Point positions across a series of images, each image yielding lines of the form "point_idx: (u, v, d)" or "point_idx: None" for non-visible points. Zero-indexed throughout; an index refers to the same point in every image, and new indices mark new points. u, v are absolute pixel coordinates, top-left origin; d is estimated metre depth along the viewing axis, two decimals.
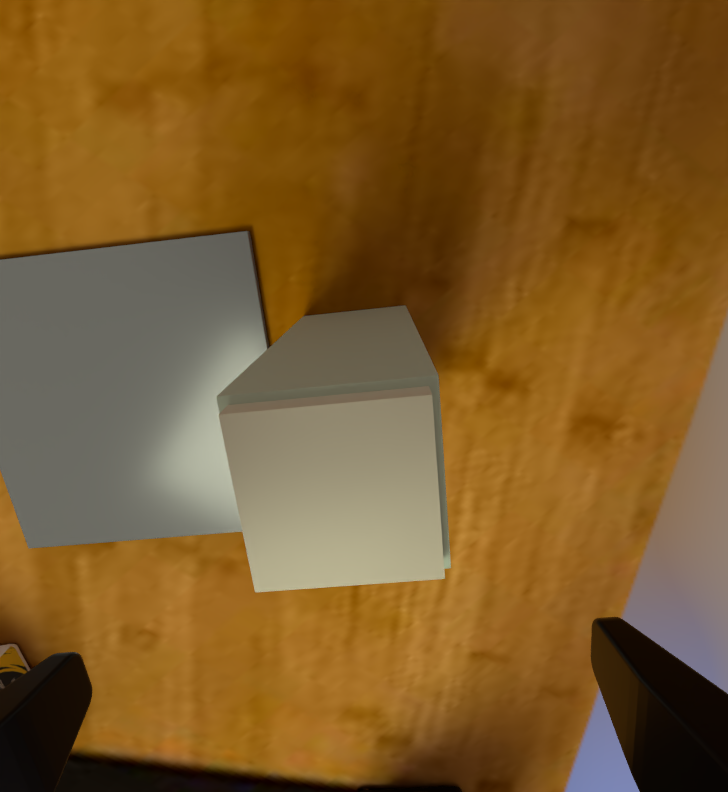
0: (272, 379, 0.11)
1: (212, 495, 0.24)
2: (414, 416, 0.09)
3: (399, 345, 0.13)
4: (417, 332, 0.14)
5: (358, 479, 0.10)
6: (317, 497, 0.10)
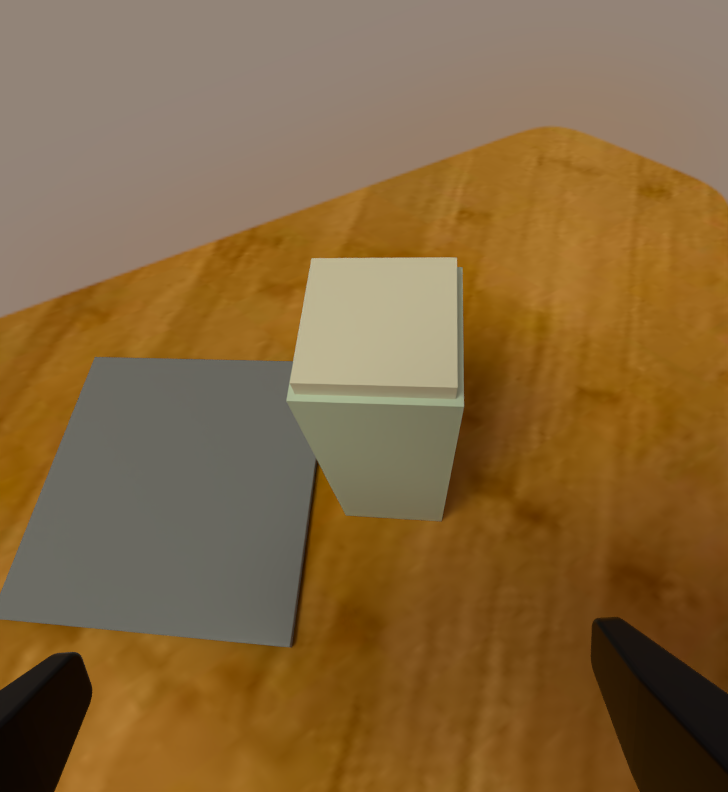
0: None
1: (213, 585, 0.22)
2: (443, 268, 0.13)
3: None
4: None
5: (396, 304, 0.13)
6: (363, 313, 0.13)
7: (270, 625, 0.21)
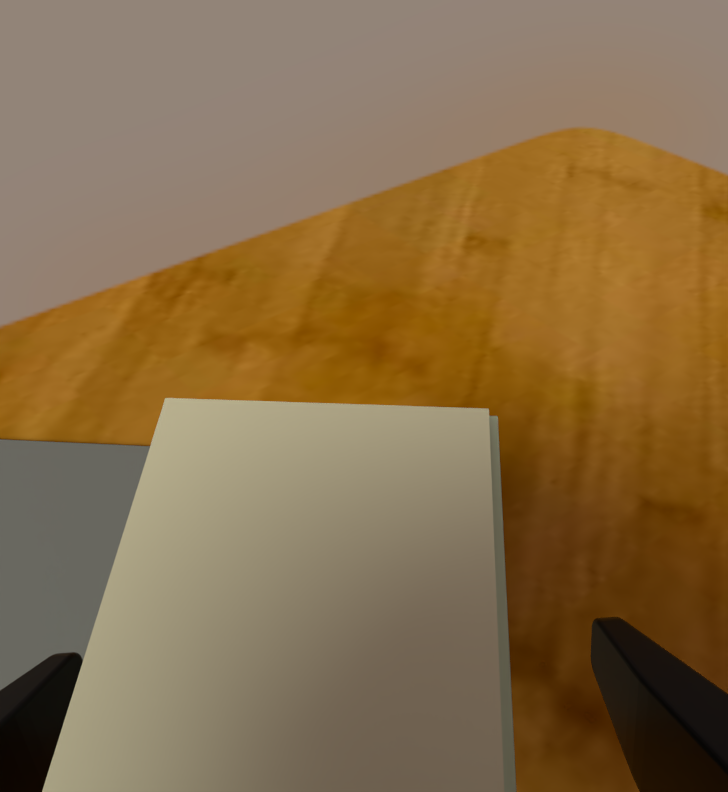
0: None
1: None
2: (458, 438, 0.06)
3: None
4: None
5: (345, 538, 0.05)
6: (261, 563, 0.05)
7: None
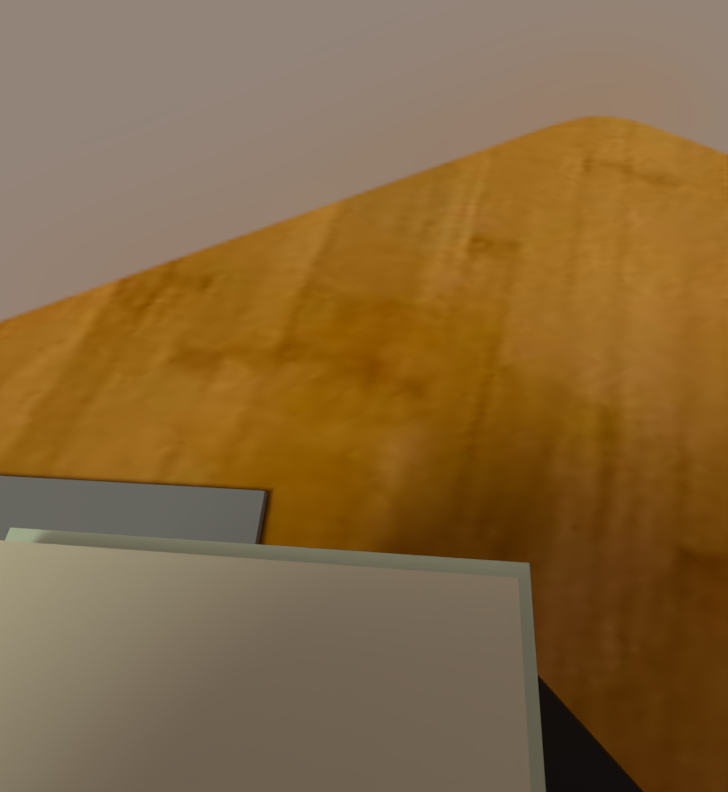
0: None
1: None
2: (462, 641, 0.03)
3: None
4: None
5: None
6: None
7: None
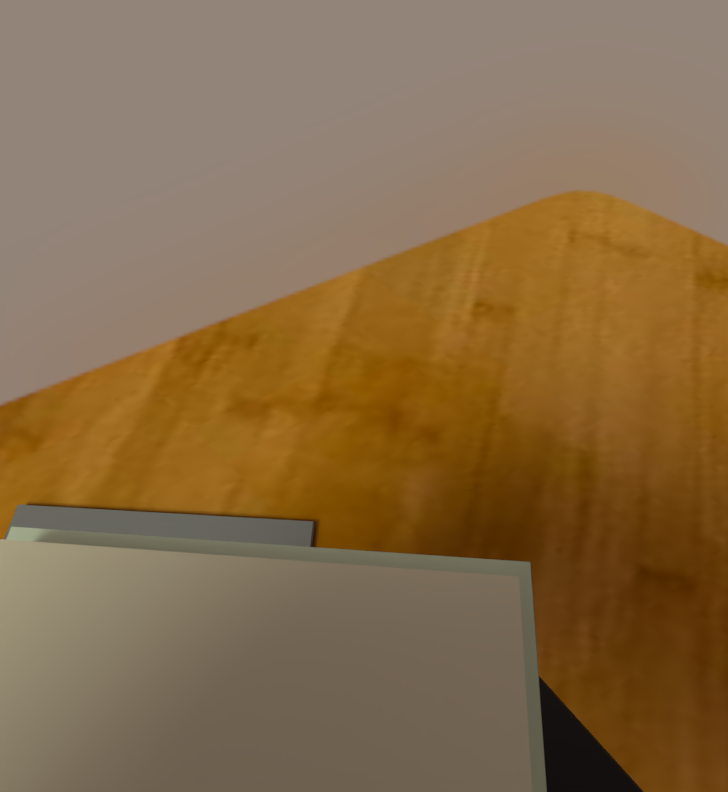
0: None
1: None
2: (463, 640, 0.03)
3: None
4: None
5: None
6: None
7: None
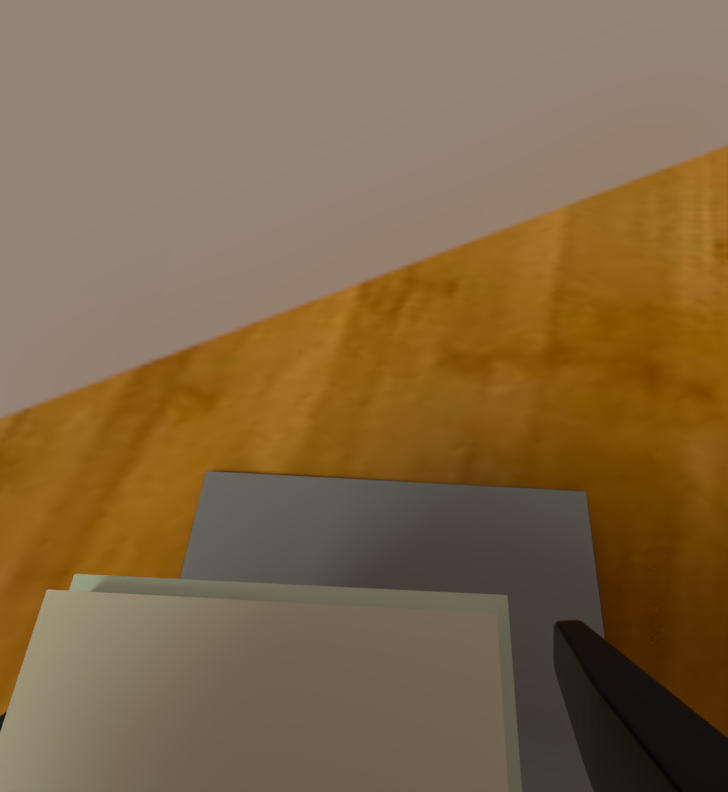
0: None
1: None
2: (454, 665, 0.04)
3: None
4: None
5: None
6: None
7: None
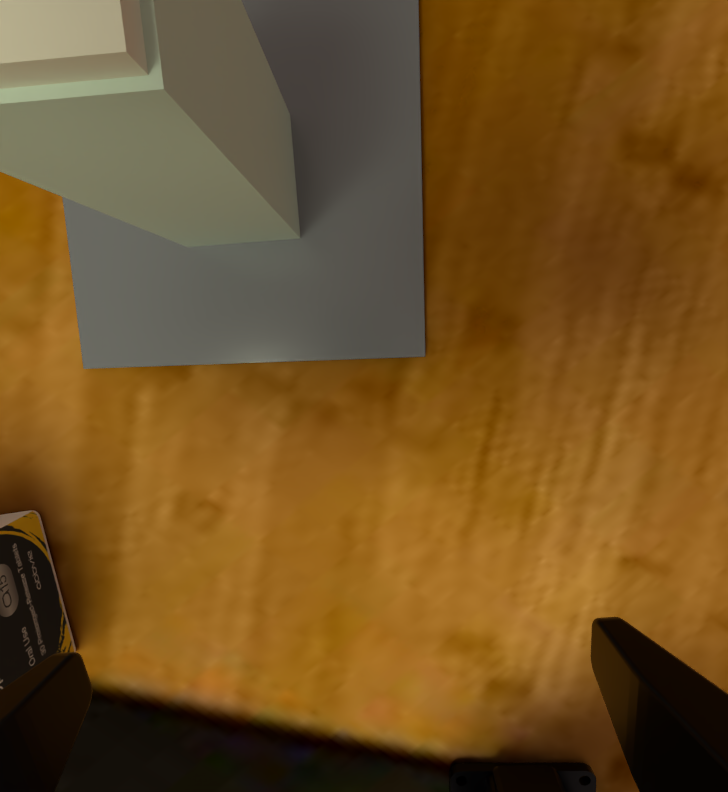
0: None
1: (326, 306, 0.19)
2: None
3: None
4: None
5: None
6: None
7: (400, 338, 0.19)
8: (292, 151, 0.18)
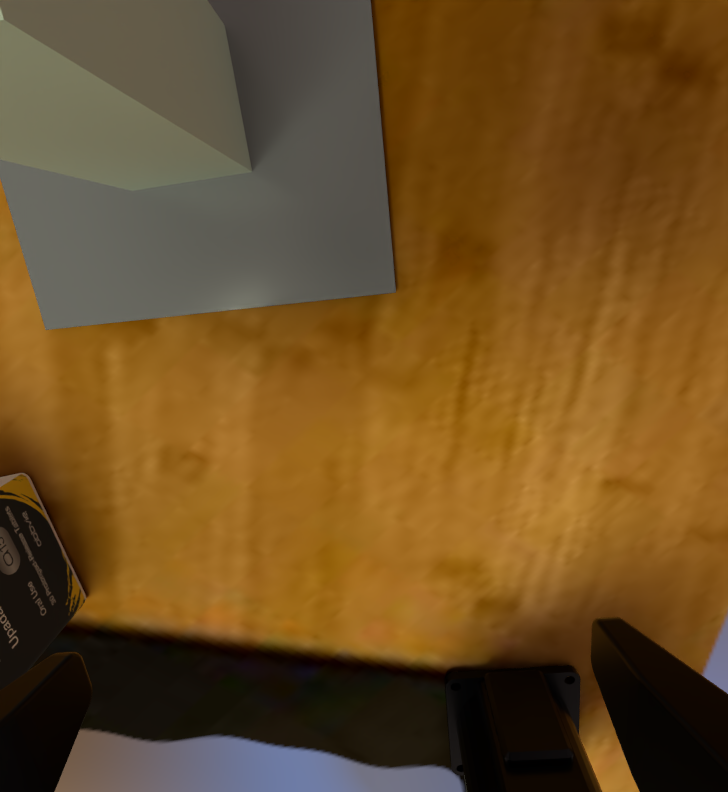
0: None
1: (287, 245, 0.18)
2: None
3: None
4: None
5: None
6: None
7: (368, 275, 0.18)
8: (232, 70, 0.16)
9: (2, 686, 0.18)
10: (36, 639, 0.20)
